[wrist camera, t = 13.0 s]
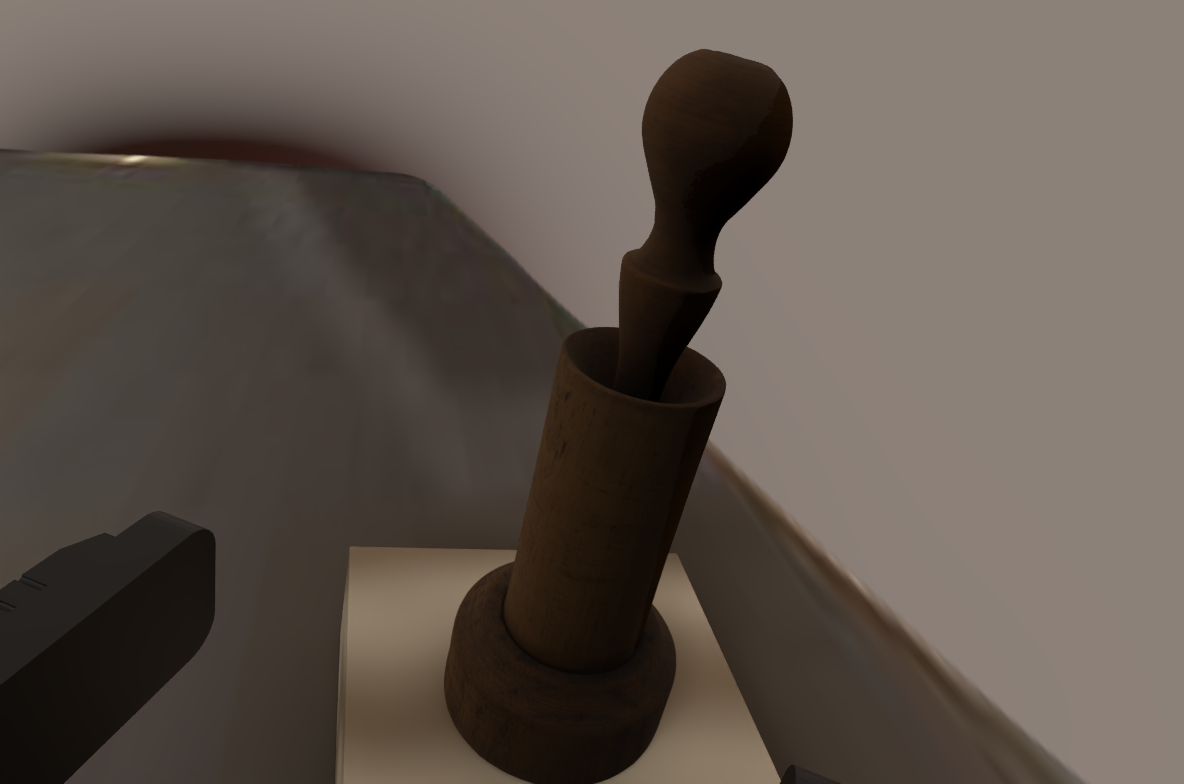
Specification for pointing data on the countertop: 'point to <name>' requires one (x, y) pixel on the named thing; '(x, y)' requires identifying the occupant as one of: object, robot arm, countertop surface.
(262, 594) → the countertop surface
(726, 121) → the mortar and pestle
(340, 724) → the plinth
